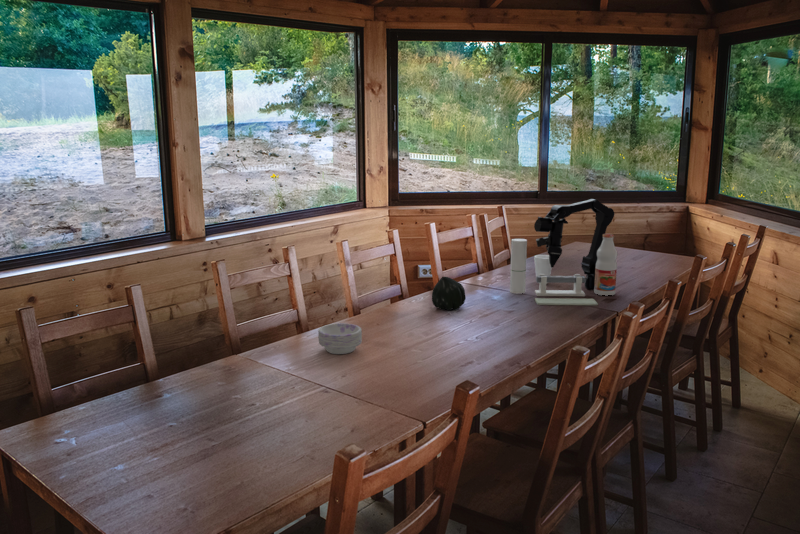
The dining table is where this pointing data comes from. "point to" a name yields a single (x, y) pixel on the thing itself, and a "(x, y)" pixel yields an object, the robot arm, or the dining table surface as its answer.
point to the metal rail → (560, 279)
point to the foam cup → (542, 265)
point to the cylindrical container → (518, 266)
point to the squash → (448, 294)
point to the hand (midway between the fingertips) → (551, 265)
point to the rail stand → (575, 292)
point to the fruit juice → (606, 267)
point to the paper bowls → (340, 337)
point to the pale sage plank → (564, 301)
